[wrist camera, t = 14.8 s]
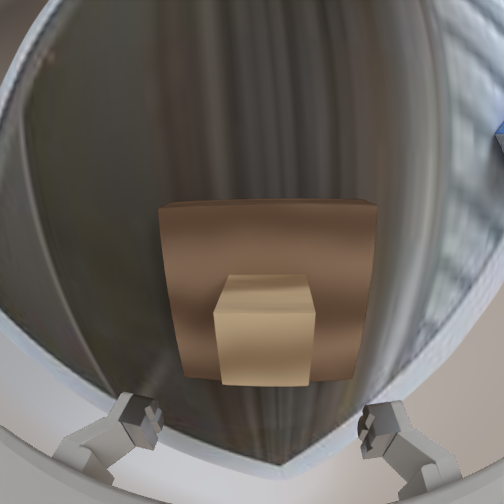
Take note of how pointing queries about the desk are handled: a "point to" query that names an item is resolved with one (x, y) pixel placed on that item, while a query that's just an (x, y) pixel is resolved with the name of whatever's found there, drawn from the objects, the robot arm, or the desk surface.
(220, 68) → the desk surface
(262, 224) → the block
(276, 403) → the desk surface
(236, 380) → the oak cube
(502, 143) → the medicine box
